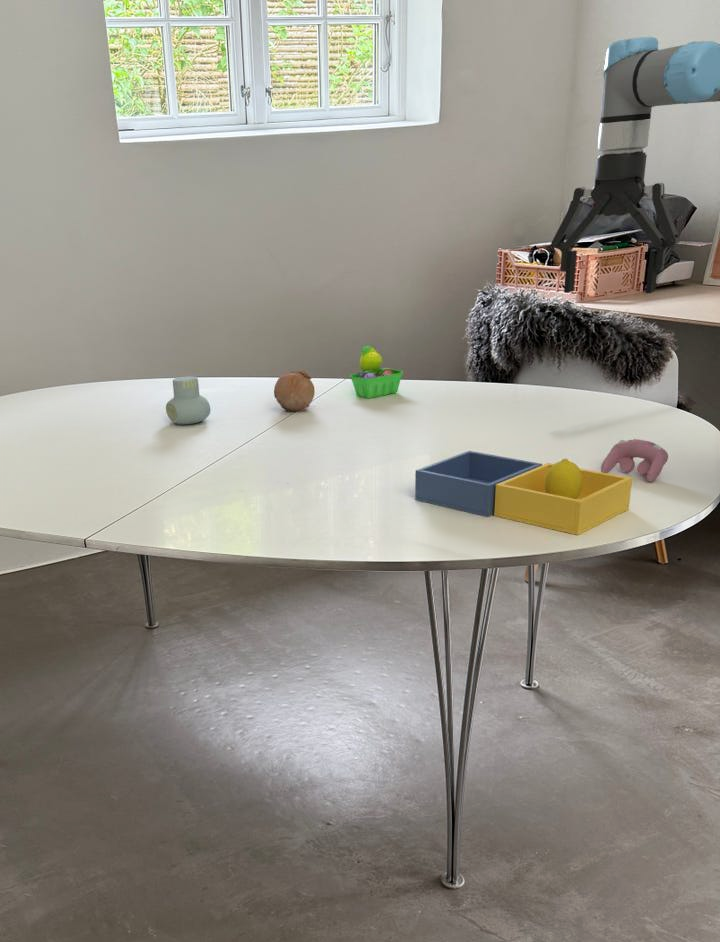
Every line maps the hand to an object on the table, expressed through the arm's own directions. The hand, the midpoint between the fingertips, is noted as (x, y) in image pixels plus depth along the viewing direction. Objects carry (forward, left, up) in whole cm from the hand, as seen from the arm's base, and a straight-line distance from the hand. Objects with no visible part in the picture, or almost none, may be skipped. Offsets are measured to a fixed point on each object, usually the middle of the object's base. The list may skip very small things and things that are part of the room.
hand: (608, 292), depth 161 cm
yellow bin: (-12, +30, -29) cm, 43 cm away
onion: (+76, +2, -29) cm, 81 cm away
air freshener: (+89, +24, -29) cm, 97 cm away
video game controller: (-11, +6, -29) cm, 32 cm away
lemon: (-12, +30, -28) cm, 43 cm away
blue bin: (+3, +31, -29) cm, 42 cm away
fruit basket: (+71, -21, -29) cm, 79 cm away
